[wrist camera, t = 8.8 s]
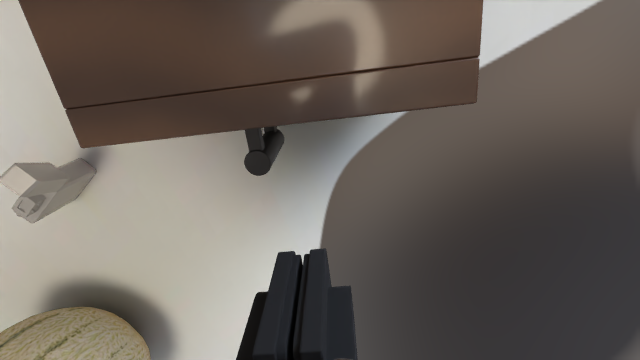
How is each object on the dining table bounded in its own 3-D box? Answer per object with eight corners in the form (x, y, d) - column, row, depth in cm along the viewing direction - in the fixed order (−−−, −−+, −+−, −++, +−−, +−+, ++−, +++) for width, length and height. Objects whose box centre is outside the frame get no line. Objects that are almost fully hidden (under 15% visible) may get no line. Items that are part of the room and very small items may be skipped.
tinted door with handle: (193, 96, 23) (116, 122, 15) (303, 82, 23) (285, 101, 14) (206, 145, 25) (142, 193, 16) (310, 133, 24) (297, 177, 16)
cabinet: (146, -39, 21) (-37, -126, 11) (411, -83, 20) (498, -232, 9) (187, 107, 25) (80, 148, 14) (413, 79, 24) (477, 103, 13)
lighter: (74, 200, 29) (-16, 252, 21) (57, 187, 28) (-42, 236, 21) (115, 148, 27) (30, 185, 19) (97, 133, 26) (3, 166, 19)
